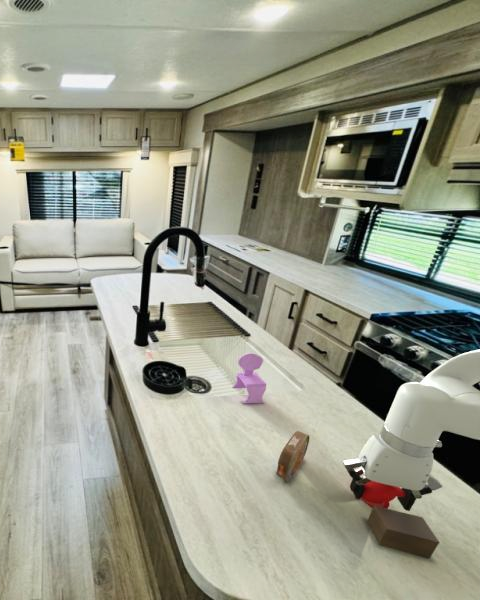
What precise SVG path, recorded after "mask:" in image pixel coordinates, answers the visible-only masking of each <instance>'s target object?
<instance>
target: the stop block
mask: <svg viewBox="0 0 480 600" xmlns="http://www.w3.org/2000/svg"><path fill="white" fill-rule="evenodd" d="M366 522H367V525H368V526H369V529H370V531H371V534H372V535H373V537H374V538H375V540H376V542H377V544H378V546H380V547H384V548H388V549H392V550H396V551H399V552H402V553H407V554H409V555H412V556H413V555H414V556H417V557H421V558H425V559H429V560H430V559H431V557H432V555H433V554H434V552H435V551H436V549H437V547H438V546H439V544H440V541H439V539H438V538H437V537H436V535H435V533H434V532H433V531H432V529H431V527H430V526H429V524H428V523H427V522H426V520H425V519H424V517H422V516H419V515H416V514H415V515H414V514H410V513H406V512H403V511H399V510H394V509H392V508H391V509H390V508H388V509H386V508H382V507H378V506H374V507H373V508H371V511H370V514H369V516H368V518H367V520H366Z"/></svg>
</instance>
